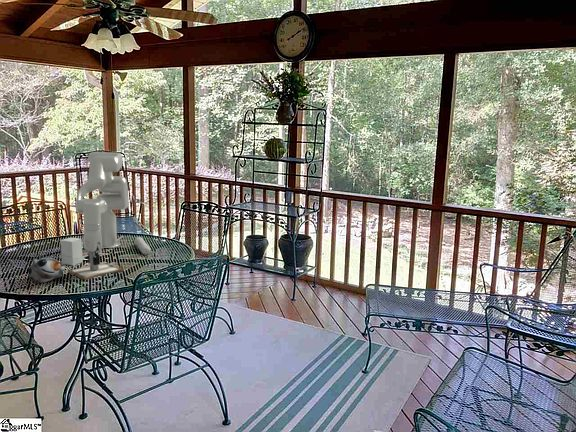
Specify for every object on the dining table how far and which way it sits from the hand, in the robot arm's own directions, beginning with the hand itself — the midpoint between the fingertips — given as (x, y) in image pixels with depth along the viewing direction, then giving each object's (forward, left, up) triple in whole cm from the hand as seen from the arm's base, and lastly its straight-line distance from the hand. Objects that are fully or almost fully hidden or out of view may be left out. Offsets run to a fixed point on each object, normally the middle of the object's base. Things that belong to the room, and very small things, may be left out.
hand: (94, 263), depth 237 cm
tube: (-20, +41, -5) cm, 46 cm away
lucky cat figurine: (-5, -20, -5) cm, 21 cm away
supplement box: (-22, 0, -5) cm, 23 cm away
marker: (0, 0, -3) cm, 3 cm away
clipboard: (0, +1, -5) cm, 5 cm away
